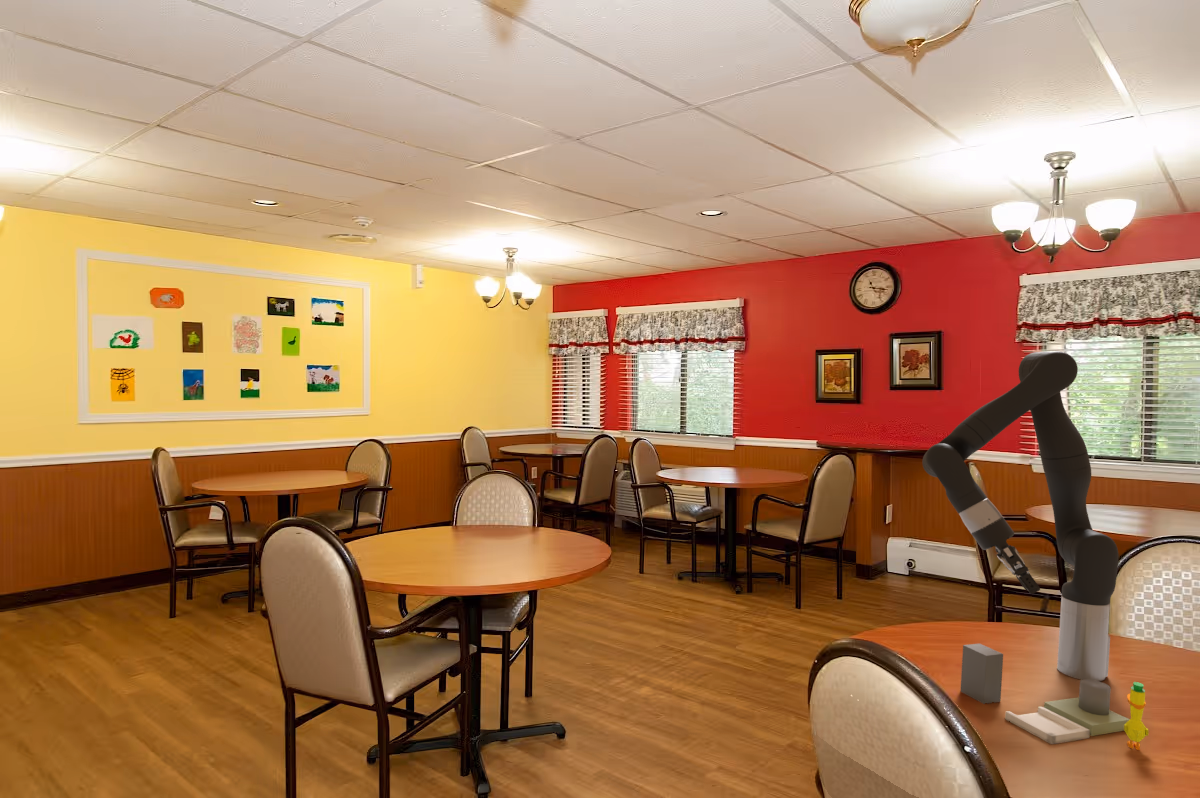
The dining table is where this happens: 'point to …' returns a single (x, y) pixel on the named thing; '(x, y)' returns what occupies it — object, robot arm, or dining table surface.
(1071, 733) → the cylinder and block set
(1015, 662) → the dining table surface
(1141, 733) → the toy figure
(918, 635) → the dining table surface
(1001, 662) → the gray rectangular block
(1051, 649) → the dining table surface
